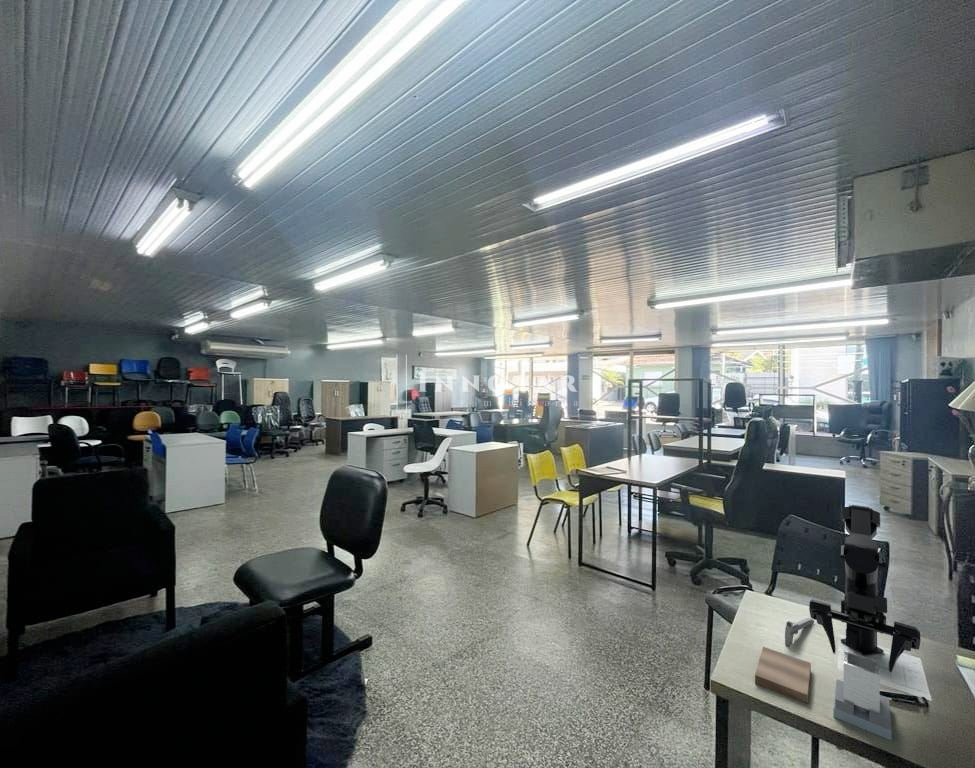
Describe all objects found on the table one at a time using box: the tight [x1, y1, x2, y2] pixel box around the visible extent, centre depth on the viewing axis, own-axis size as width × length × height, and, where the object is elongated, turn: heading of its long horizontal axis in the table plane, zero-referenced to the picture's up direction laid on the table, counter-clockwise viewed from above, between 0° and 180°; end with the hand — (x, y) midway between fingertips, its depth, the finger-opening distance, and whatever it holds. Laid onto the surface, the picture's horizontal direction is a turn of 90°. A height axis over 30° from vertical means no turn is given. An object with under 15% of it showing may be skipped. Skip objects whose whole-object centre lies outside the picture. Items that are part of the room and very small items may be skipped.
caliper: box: [784, 616, 815, 647], centre depth 120 cm, size 20×1×6 cm, turn 127°
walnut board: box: [754, 646, 812, 704], centre depth 102 cm, size 14×10×2 cm
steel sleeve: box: [843, 650, 881, 714], centre depth 89 cm, size 6×6×8 cm
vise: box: [832, 679, 893, 741], centre depth 91 cm, size 11×9×7 cm
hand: (861, 661), depth 91 cm, fingers open, 9 cm apart
